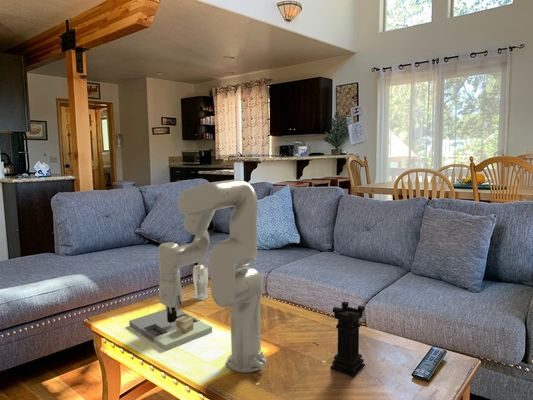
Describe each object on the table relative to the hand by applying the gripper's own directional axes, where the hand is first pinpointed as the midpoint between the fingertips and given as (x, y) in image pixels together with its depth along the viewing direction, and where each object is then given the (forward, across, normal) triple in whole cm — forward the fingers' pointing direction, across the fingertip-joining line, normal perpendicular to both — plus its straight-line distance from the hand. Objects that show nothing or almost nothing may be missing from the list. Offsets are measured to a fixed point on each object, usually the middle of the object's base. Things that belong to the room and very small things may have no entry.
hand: (172, 321), depth 157 cm
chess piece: (+4, +63, +26) cm, 68 cm away
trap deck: (+4, -2, 0) cm, 4 cm away
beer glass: (+4, -20, +27) cm, 34 cm away
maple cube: (+2, +7, +1) cm, 7 cm away
